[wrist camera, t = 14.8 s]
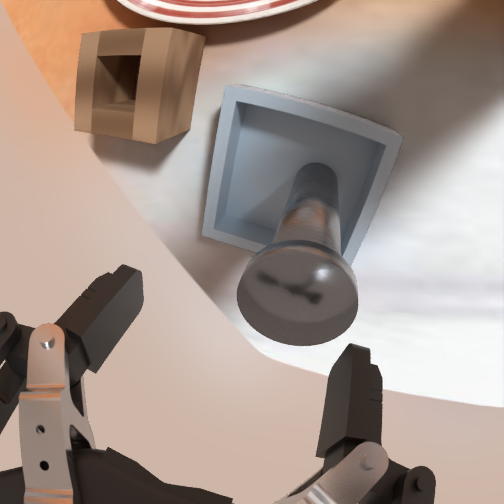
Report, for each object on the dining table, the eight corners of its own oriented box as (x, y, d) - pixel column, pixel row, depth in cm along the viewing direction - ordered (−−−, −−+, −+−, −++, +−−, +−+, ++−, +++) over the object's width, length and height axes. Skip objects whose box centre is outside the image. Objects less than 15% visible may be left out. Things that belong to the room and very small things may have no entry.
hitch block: (124, 35, 21) (82, 33, 16) (206, 36, 20) (172, 27, 15) (114, 117, 26) (74, 130, 21) (189, 129, 25) (155, 144, 20)
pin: (295, 146, 23) (249, 236, 11) (353, 165, 23) (379, 277, 10) (280, 200, 26) (229, 326, 14) (335, 217, 25) (330, 356, 13)
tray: (241, 84, 22) (225, 85, 19) (393, 129, 21) (403, 137, 18) (217, 216, 30) (201, 235, 26) (343, 256, 28) (343, 280, 25)
